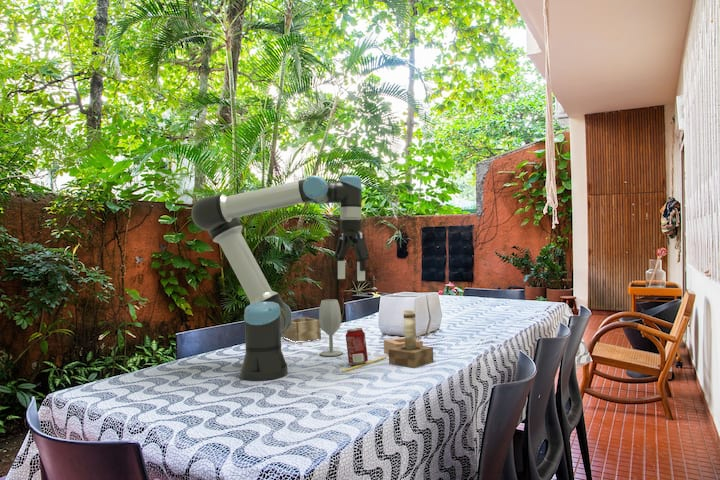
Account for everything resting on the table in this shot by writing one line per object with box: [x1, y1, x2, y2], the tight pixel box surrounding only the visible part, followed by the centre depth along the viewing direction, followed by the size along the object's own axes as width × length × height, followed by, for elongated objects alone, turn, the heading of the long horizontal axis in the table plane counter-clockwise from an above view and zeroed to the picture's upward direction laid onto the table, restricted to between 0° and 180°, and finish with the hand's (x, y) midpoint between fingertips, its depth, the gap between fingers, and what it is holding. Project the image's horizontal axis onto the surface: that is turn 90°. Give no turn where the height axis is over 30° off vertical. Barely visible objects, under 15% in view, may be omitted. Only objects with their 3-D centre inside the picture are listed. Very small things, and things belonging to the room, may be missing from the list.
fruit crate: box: [282, 316, 322, 342], centre depth 230 cm, size 13×14×9 cm
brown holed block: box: [388, 345, 434, 369], centre depth 175 cm, size 11×11×5 cm
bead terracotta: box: [383, 336, 424, 356], centre depth 191 cm, size 11×11×5 cm
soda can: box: [345, 327, 369, 366], centre depth 176 cm, size 7×7×12 cm
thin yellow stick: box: [340, 356, 387, 373], centre depth 175 cm, size 24×1×1 cm, turn 142°
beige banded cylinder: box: [403, 309, 417, 351], centre depth 176 cm, size 4×4×18 cm
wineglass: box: [318, 299, 344, 357], centre depth 195 cm, size 9×9×21 cm
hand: (351, 279), depth 177 cm, fingers open, 13 cm apart
